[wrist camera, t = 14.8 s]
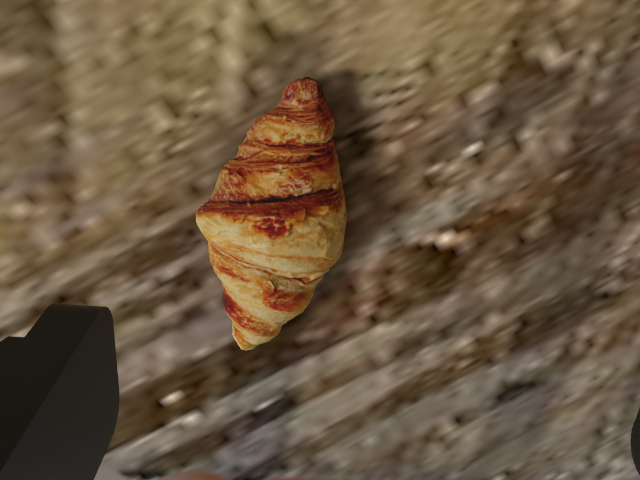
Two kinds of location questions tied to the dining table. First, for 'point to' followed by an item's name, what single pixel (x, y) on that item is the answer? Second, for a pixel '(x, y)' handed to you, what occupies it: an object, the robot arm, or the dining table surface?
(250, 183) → the croissant
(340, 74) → the dining table surface
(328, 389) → the dining table surface
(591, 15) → the dining table surface
